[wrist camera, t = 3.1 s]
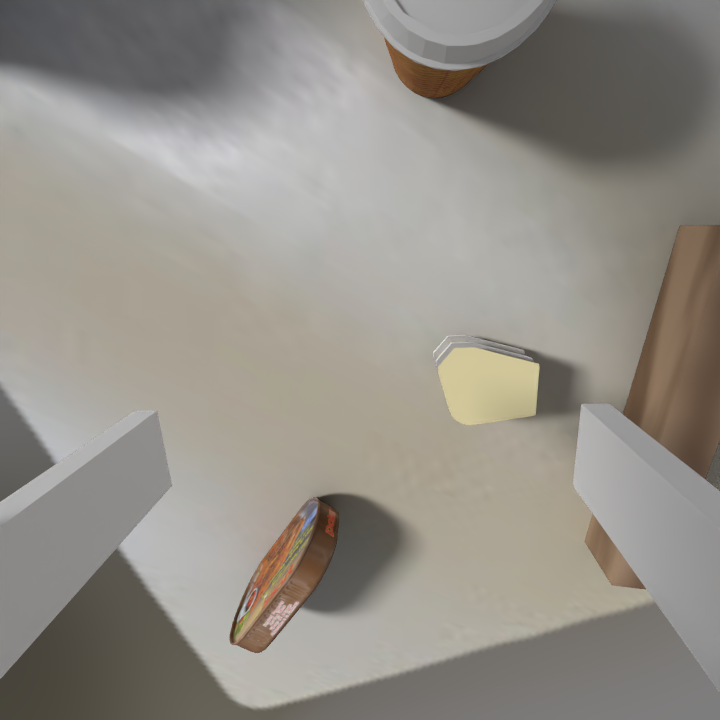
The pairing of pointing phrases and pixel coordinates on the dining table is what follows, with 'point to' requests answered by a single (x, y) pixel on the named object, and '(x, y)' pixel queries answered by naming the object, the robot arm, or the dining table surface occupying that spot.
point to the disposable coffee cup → (452, 37)
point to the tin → (286, 576)
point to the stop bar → (676, 374)
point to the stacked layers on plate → (486, 380)
